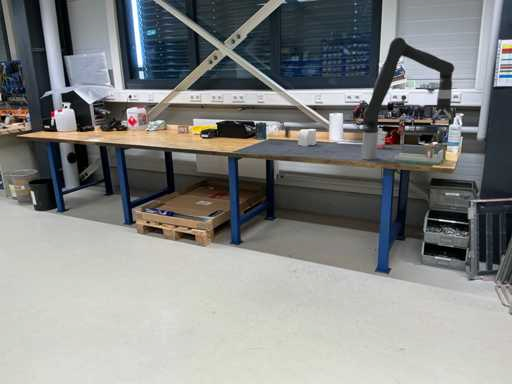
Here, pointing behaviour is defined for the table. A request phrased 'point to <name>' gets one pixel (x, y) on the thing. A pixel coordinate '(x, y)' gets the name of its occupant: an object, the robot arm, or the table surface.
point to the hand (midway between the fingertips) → (441, 124)
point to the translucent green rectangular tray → (420, 155)
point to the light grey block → (307, 137)
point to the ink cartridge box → (381, 139)
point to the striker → (437, 143)
